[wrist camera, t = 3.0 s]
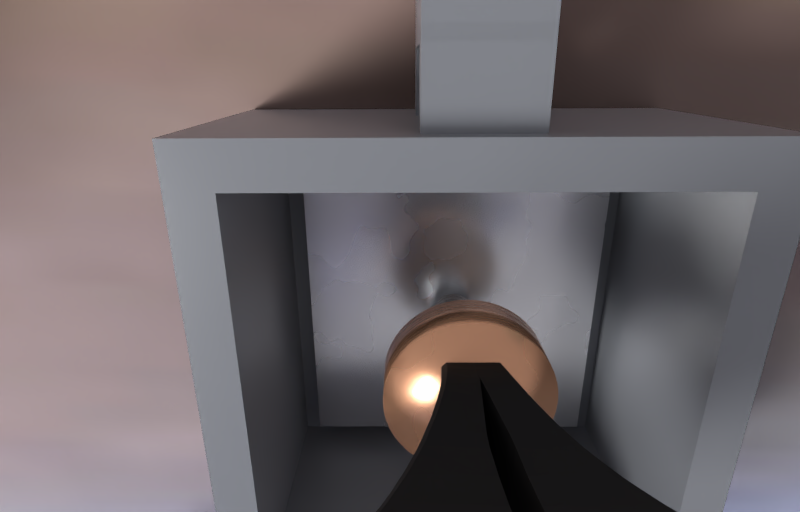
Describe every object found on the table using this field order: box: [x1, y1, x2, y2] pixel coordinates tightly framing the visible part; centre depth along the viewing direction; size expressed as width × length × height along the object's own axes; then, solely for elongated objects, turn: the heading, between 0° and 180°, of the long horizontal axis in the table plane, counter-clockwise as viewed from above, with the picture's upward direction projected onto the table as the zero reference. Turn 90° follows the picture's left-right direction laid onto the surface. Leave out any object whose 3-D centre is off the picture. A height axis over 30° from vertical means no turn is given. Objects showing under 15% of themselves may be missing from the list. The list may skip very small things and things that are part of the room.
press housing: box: [152, 0, 800, 512], centre depth 14 cm, size 15×12×6 cm
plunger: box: [303, 192, 610, 455], centre depth 14 cm, size 9×9×5 cm
